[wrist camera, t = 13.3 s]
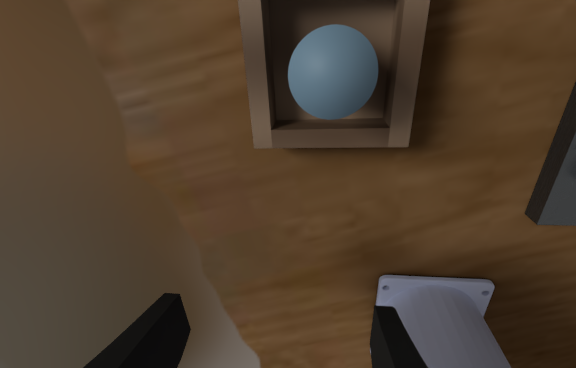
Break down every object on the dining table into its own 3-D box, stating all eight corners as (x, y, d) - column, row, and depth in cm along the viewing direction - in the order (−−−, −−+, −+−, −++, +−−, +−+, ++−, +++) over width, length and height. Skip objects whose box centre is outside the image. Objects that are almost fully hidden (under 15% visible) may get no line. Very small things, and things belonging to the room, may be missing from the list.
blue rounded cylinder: (358, 89, 15) (376, 116, 10) (302, 94, 16) (292, 122, 10) (358, 26, 14) (379, 18, 9) (298, 33, 14) (283, 30, 9)
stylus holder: (396, 131, 17) (408, 147, 14) (263, 133, 18) (254, 148, 15) (418, -38, 13) (438, -53, 11) (248, -23, 14) (234, -35, 12)
